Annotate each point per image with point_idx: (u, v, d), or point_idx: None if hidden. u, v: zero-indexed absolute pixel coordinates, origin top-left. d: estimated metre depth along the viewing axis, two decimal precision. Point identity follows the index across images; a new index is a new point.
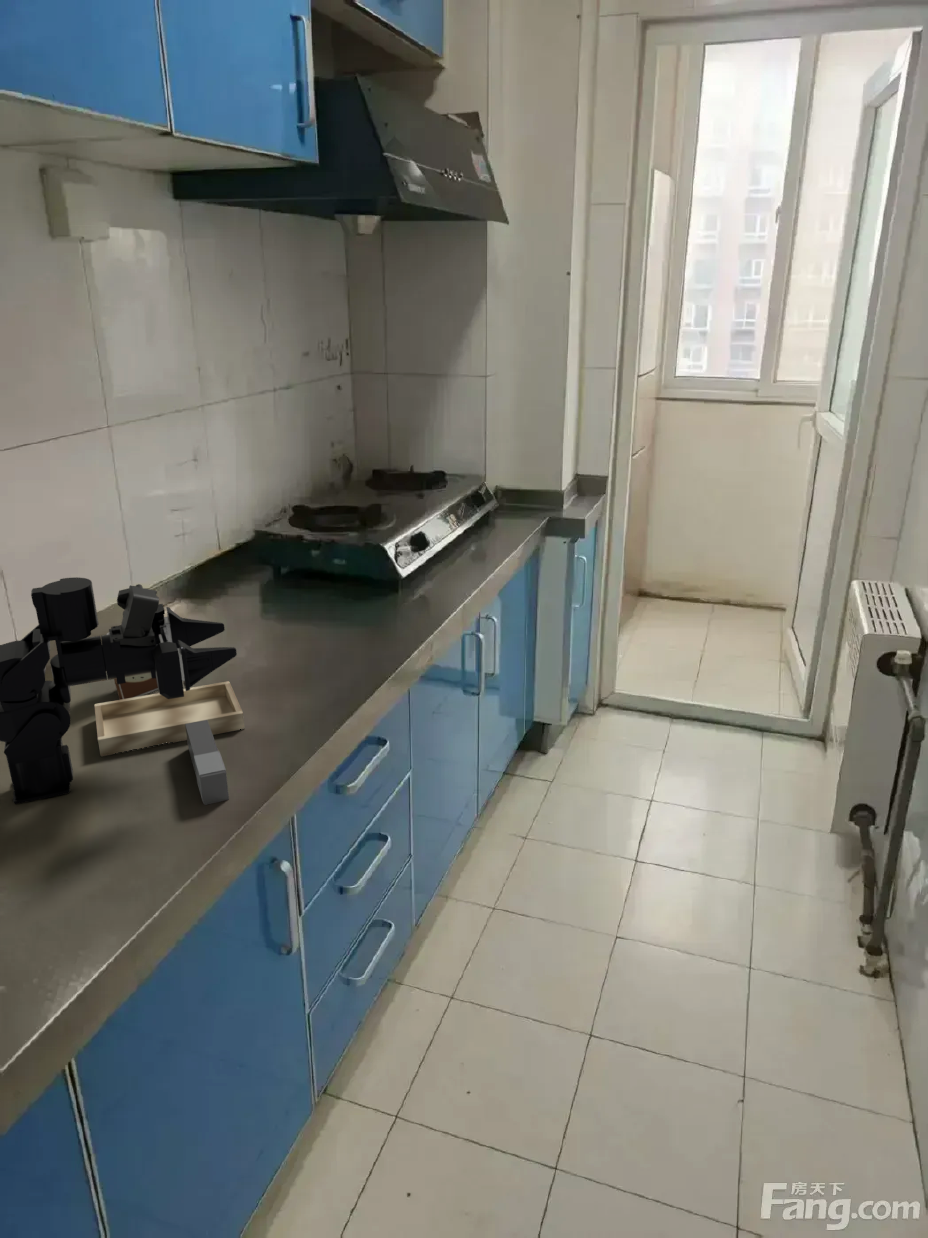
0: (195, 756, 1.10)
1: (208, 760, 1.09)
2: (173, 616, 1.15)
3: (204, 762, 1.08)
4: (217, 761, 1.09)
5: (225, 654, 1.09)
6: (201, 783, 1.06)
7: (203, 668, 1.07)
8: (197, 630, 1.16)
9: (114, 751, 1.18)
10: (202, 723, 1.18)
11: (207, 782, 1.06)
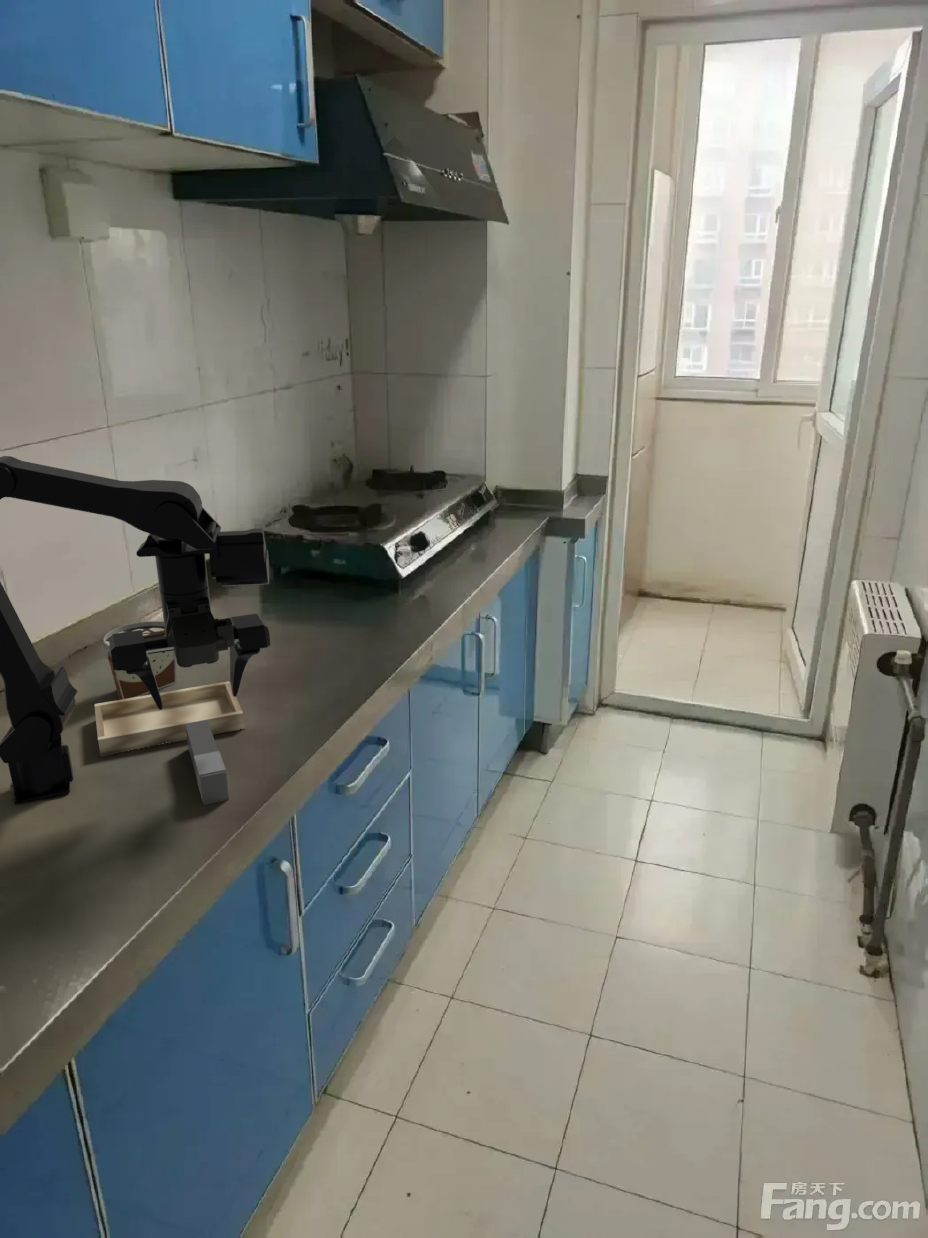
0: (195, 756, 1.10)
1: (208, 760, 1.09)
2: (237, 657, 1.07)
3: (204, 762, 1.08)
4: (217, 761, 1.09)
5: None
6: (201, 783, 1.06)
7: None
8: (232, 671, 1.10)
9: (114, 751, 1.18)
10: (202, 723, 1.18)
11: (207, 782, 1.06)
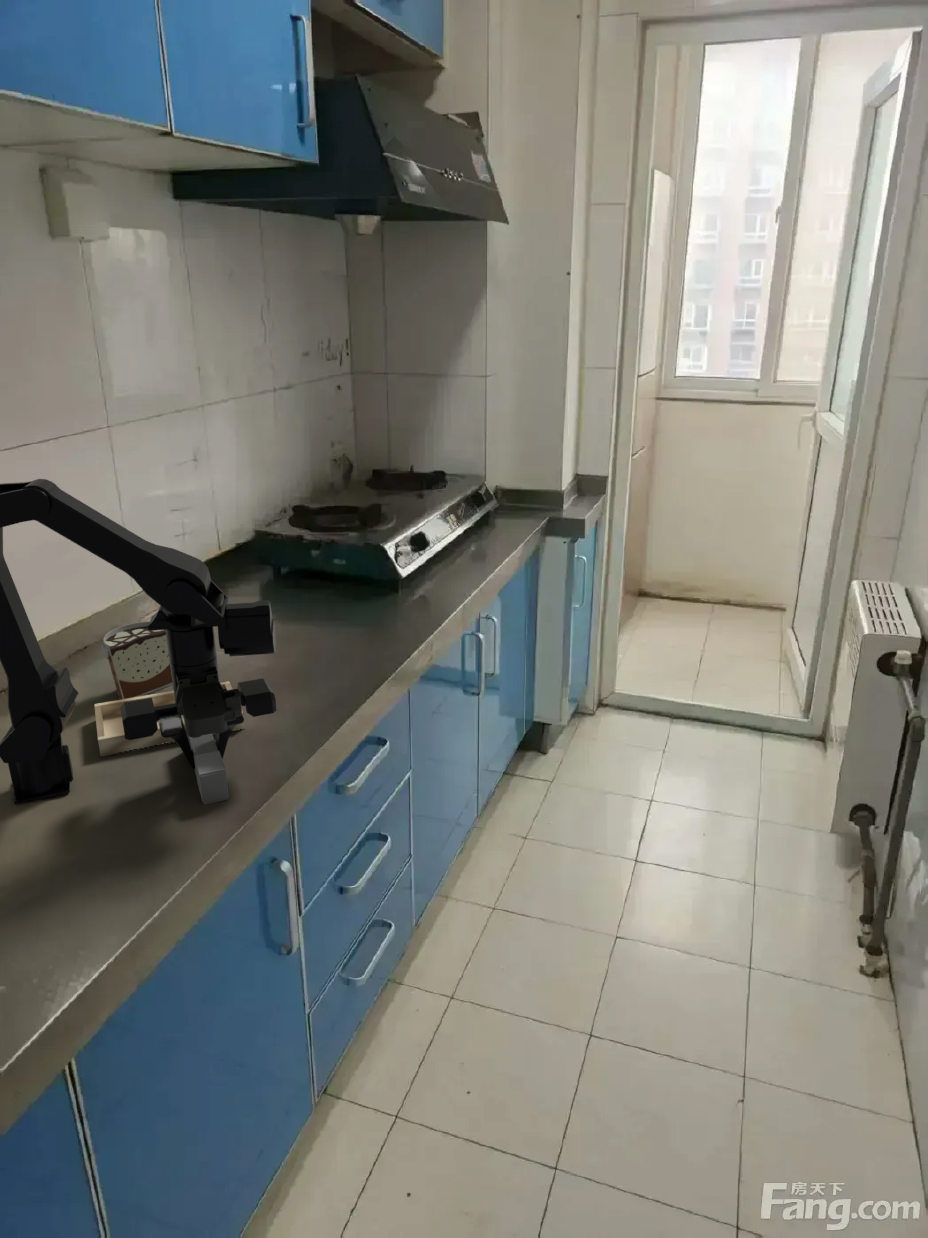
0: (195, 756, 1.10)
1: (208, 760, 1.09)
2: None
3: (204, 762, 1.08)
4: (216, 760, 1.09)
5: None
6: (201, 783, 1.06)
7: None
8: (217, 739, 1.12)
9: (114, 751, 1.18)
10: None
11: (207, 782, 1.06)
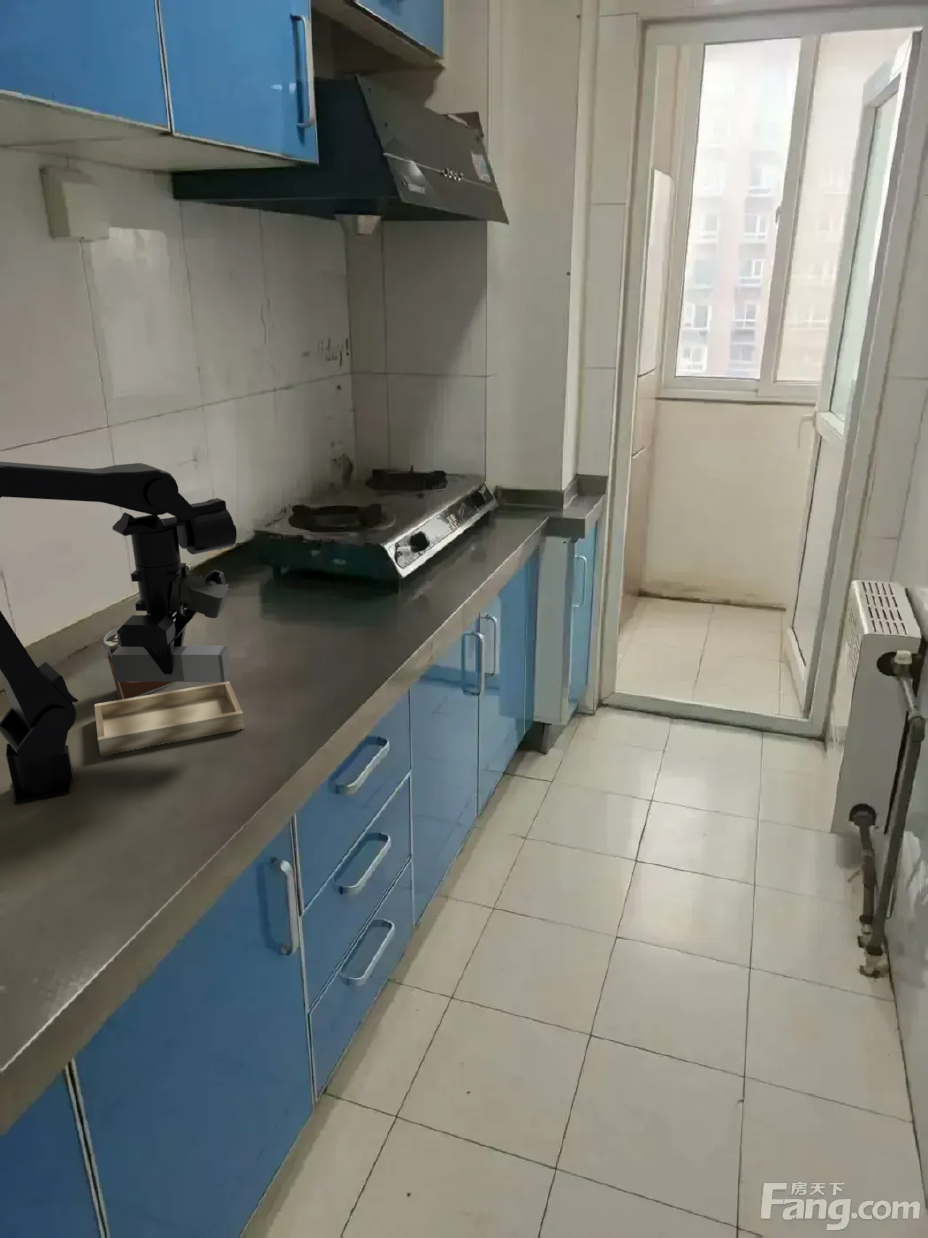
0: (182, 654, 1.16)
1: (198, 650, 1.17)
2: (188, 620, 1.18)
3: (199, 651, 1.16)
4: (204, 647, 1.18)
5: (166, 666, 1.15)
6: (220, 662, 1.16)
7: (153, 648, 1.14)
8: (173, 640, 1.18)
9: (114, 751, 1.18)
10: (123, 648, 1.18)
11: (223, 659, 1.17)
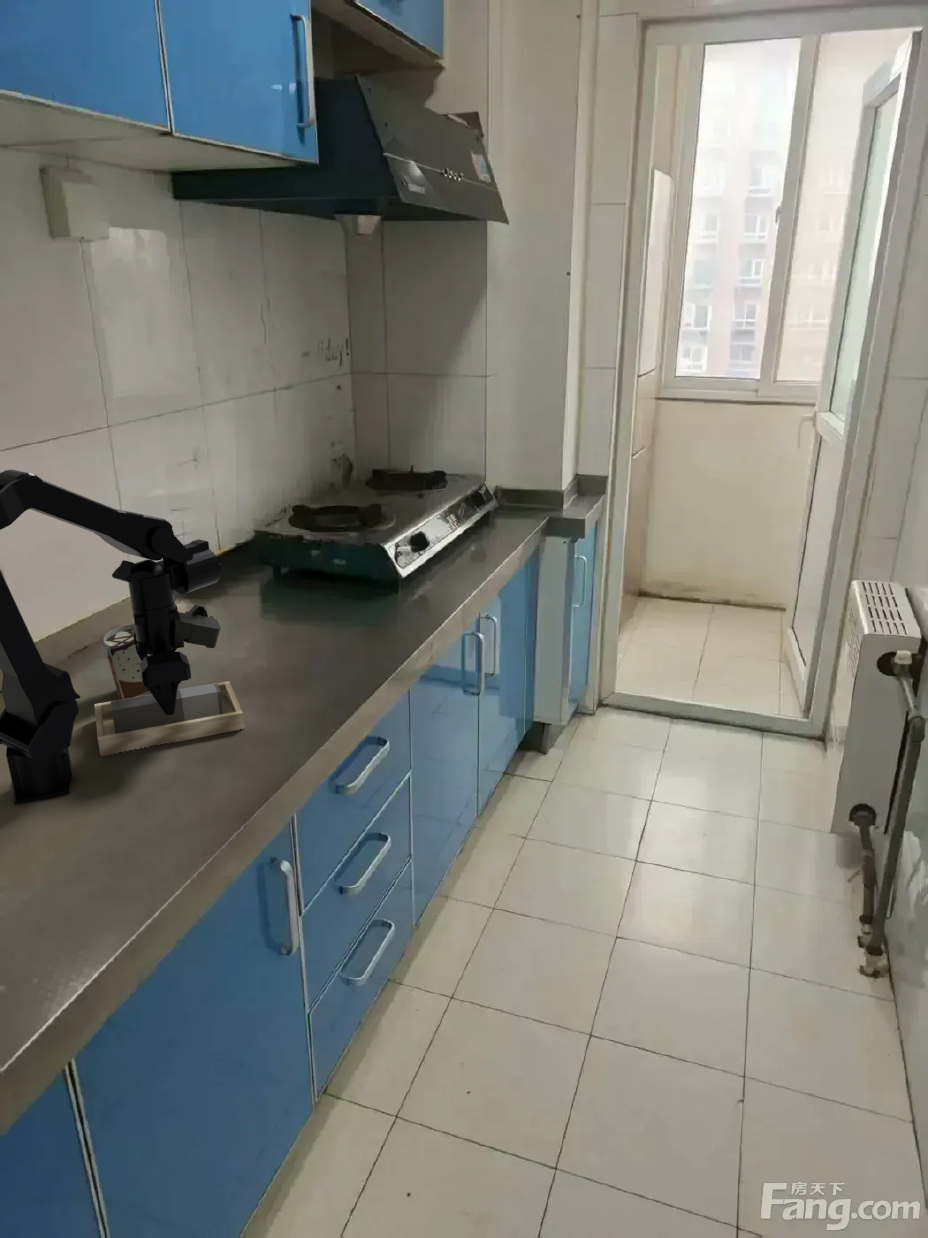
0: (183, 697, 1.24)
1: (194, 691, 1.26)
2: (175, 649, 1.27)
3: (196, 692, 1.25)
4: (197, 688, 1.27)
5: (170, 707, 1.20)
6: (219, 698, 1.26)
7: (159, 691, 1.18)
8: None
9: (114, 751, 1.18)
10: (117, 702, 1.22)
11: None
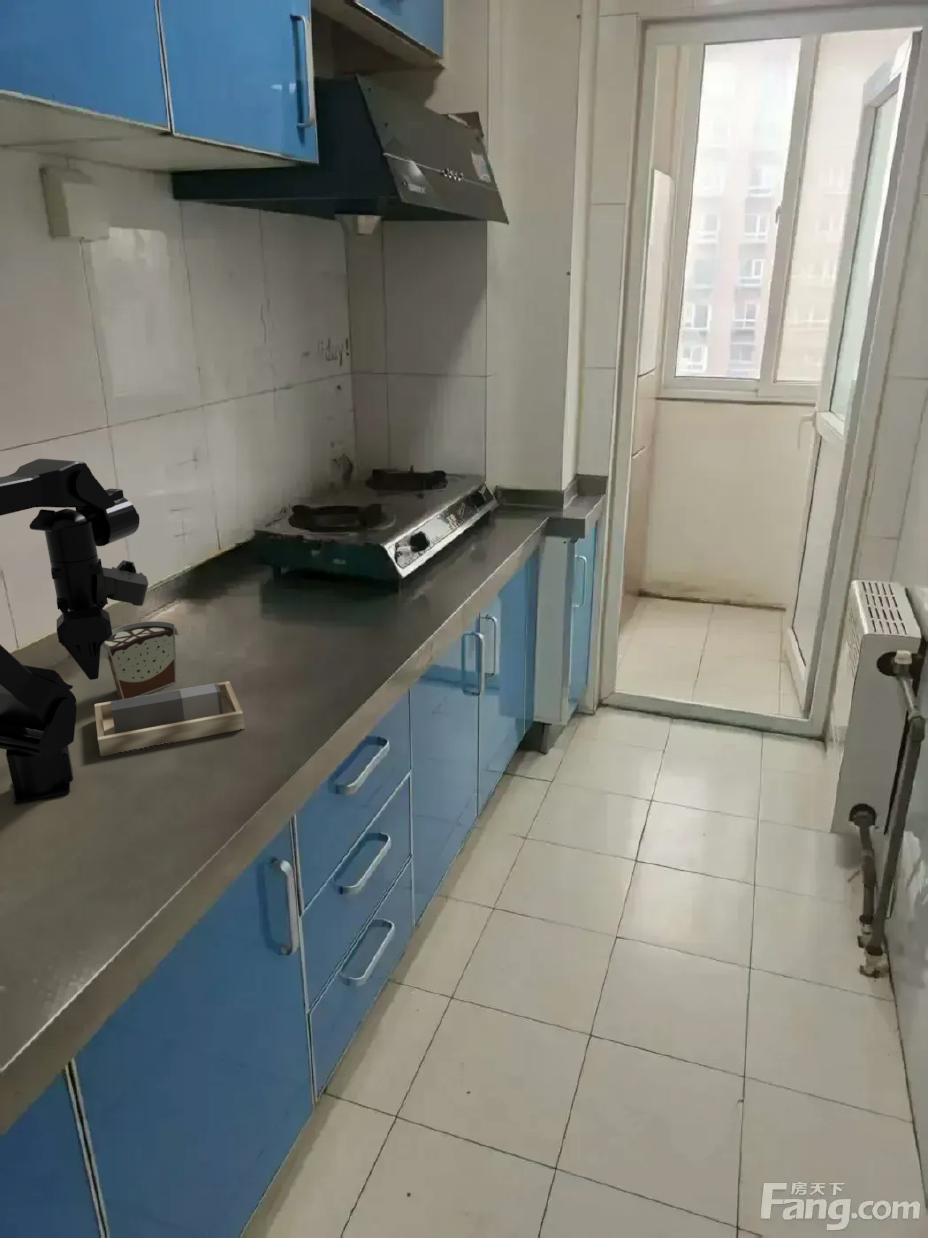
0: (183, 697, 1.24)
1: (194, 691, 1.26)
2: (102, 607, 1.19)
3: (196, 692, 1.25)
4: (197, 688, 1.27)
5: (93, 670, 1.12)
6: (219, 698, 1.26)
7: (80, 653, 1.09)
8: None
9: (114, 751, 1.18)
10: (117, 702, 1.22)
11: None
